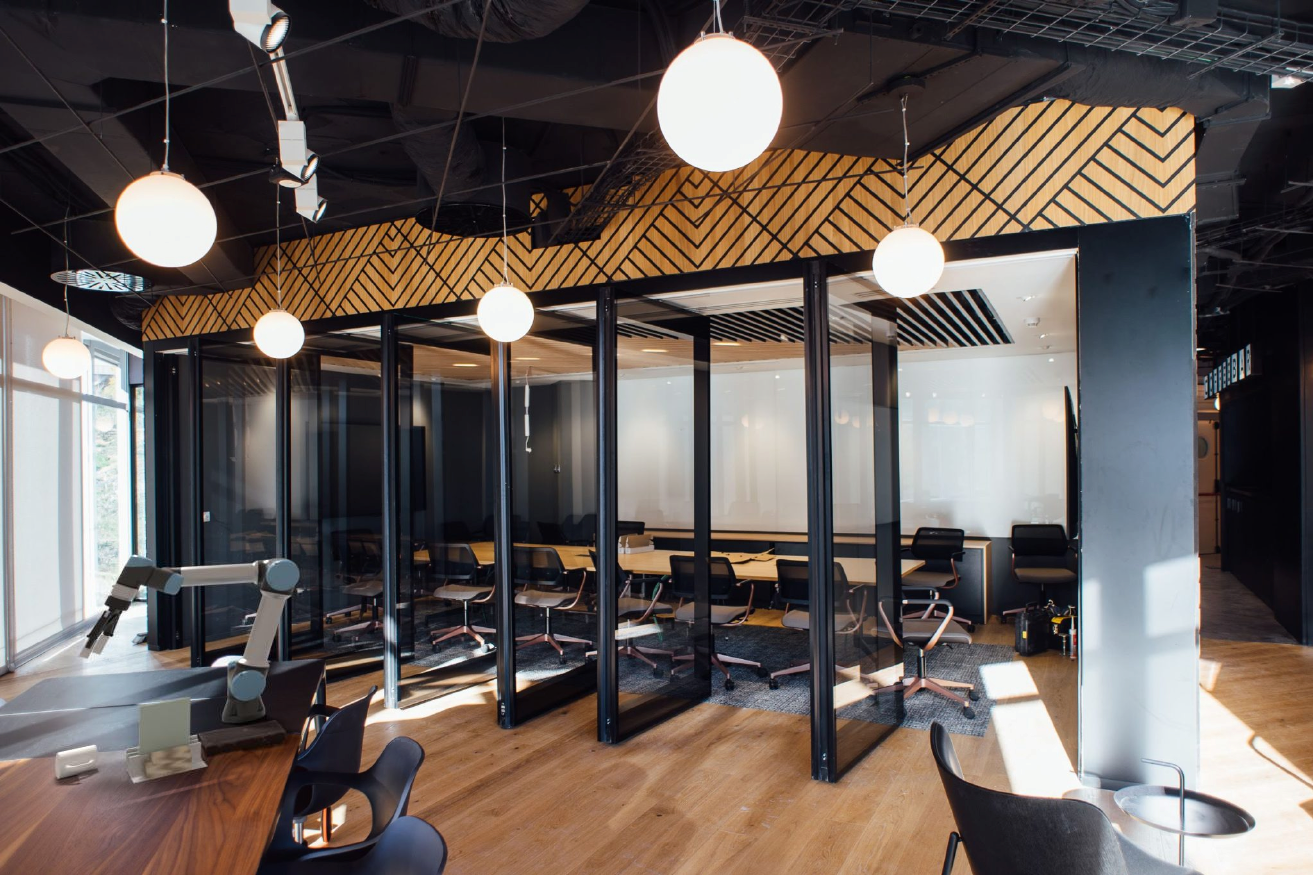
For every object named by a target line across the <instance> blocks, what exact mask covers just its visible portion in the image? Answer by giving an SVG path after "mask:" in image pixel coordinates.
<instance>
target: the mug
mask: <svg viewBox="0 0 1313 875" xmlns="http://www.w3.org/2000/svg"><path fill="white" fill-rule="evenodd" d="M54 763H55V766H54V767H55V768H54V769H55V770H54V771H55V776H56V779H58V780H59V779H63V778H67V777H72V776H76V775H79V773H83V772H88V771H91V770H95V769H98V765H99V764H98V763H99V751H98V748H97V745H96V744H92V745H87V746H83V747H77V748H73V749H68V750H64V751H59V752H56V755H55V762H54Z"/></svg>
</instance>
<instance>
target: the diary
mask: <svg viewBox="0 0 1313 875" xmlns="http://www.w3.org/2000/svg"><path fill="white" fill-rule="evenodd" d="M198 735H199V737H200V739H201V746H202V747H203V748H204V750H205V757H209V756H210V757H211V756H215V755H221V754H224V753H229V752H234V751H238V750H241V751H242V752H246V751H250V750H251V749H252V750H256V749H259V748H258V747H261V748H265V746H266V747H269V746H268V745H270V746H274V744H275V745H280V744H286V740H287V731H286V730H285V728H283V727H282V725H281V724H280V722H278V721H277V720H276V719H275V720H269V721H264V722H259V723H253V724H249V725H242V726H237V727H236V726H235V727H228V728H219V729H214V730H210V731H204V732H199V733H198Z"/></svg>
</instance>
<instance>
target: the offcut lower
mask: <svg viewBox="0 0 1313 875" xmlns="http://www.w3.org/2000/svg"><path fill="white" fill-rule="evenodd" d="M189 767H192V757H191V756H190V758H189V759H184V760H179V761H175V762H170V763H166V764H161V765H157V766H153V765H152V763H151V762H148V763H145V773H146V775H147V777H150V776H154V775H159V774H163V773H167V772H172V771H176V770H180V769H185V768H189Z"/></svg>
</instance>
